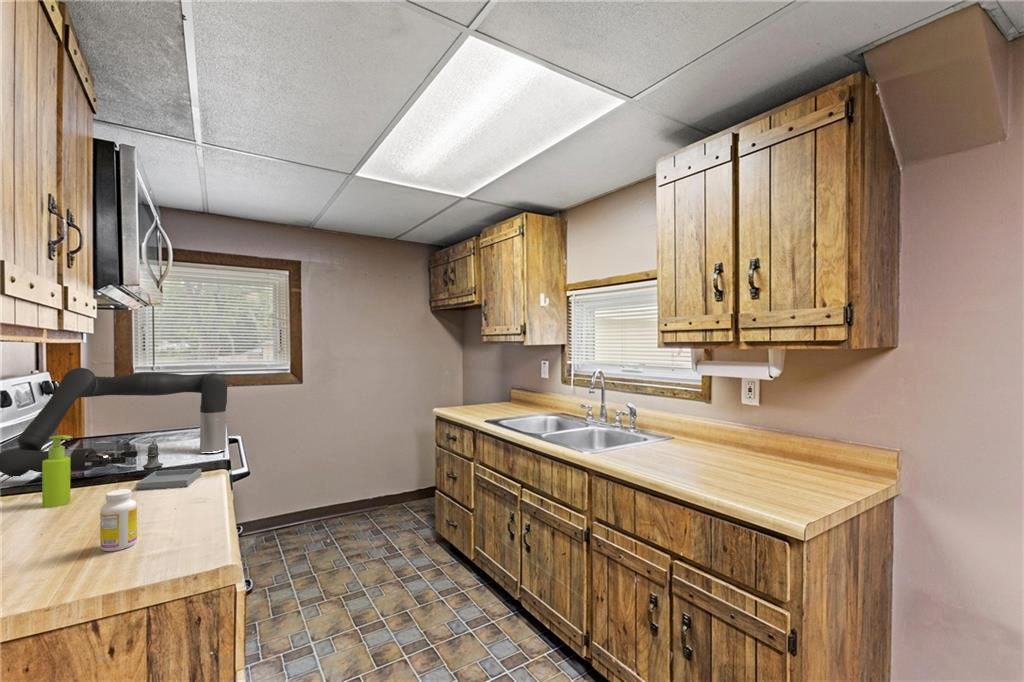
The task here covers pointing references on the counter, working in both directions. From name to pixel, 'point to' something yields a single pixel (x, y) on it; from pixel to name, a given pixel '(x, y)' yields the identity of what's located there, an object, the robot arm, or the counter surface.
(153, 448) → the dark gray chess piece
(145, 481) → the tray
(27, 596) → the counter surface
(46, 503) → the soap dispenser
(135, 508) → the supplement bottle
